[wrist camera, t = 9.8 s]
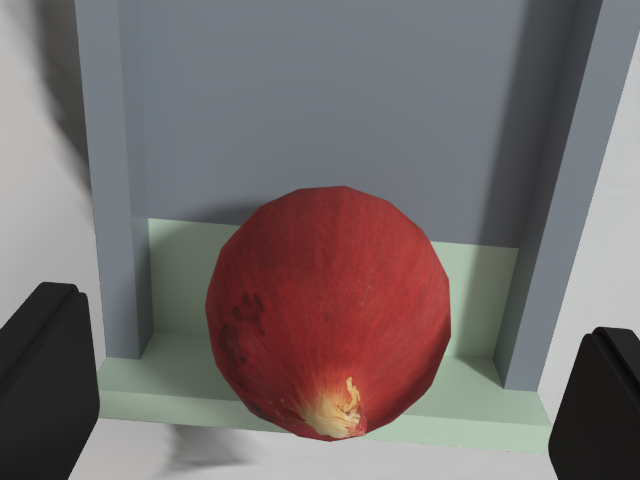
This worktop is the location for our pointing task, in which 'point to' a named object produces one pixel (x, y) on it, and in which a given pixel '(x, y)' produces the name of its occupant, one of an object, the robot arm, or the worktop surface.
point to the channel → (347, 177)
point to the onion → (328, 312)
